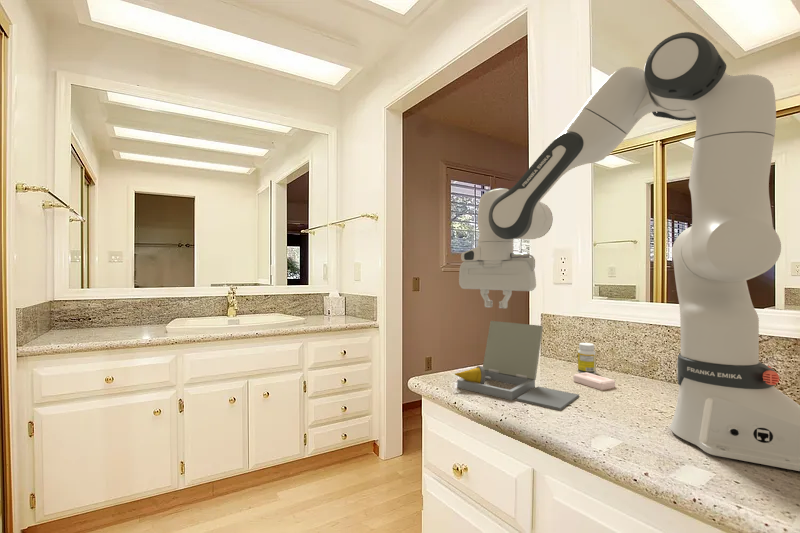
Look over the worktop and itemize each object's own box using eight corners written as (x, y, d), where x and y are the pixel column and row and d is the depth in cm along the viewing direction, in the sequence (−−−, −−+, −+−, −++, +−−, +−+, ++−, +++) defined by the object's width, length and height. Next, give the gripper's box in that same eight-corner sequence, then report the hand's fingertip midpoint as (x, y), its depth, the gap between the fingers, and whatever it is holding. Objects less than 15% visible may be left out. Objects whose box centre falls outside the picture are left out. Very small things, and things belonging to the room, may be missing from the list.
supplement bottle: (582, 369, 121) (582, 341, 121) (598, 373, 118) (598, 344, 118) (574, 372, 118) (574, 343, 118) (591, 376, 115) (590, 346, 115)
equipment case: (546, 381, 110) (546, 324, 110) (511, 400, 94) (511, 334, 94) (496, 371, 120) (495, 319, 120) (457, 387, 104) (457, 327, 104)
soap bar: (586, 380, 112) (586, 371, 112) (616, 389, 103) (616, 380, 103) (572, 382, 109) (572, 373, 109) (601, 392, 101) (601, 382, 101)
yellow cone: (488, 367, 108) (452, 362, 106) (496, 368, 103) (458, 363, 101) (486, 388, 107) (450, 384, 105) (495, 389, 102) (457, 385, 100)
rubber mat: (578, 397, 96) (578, 394, 96) (560, 410, 87) (560, 408, 87) (537, 388, 103) (537, 386, 103) (516, 400, 94) (516, 398, 94)
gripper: (540, 252, 100) (540, 309, 100) (468, 254, 113) (468, 304, 113) (529, 252, 95) (529, 311, 95) (455, 254, 108) (456, 306, 108)
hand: (495, 307), depth 104 cm, fingers open, 3 cm apart
